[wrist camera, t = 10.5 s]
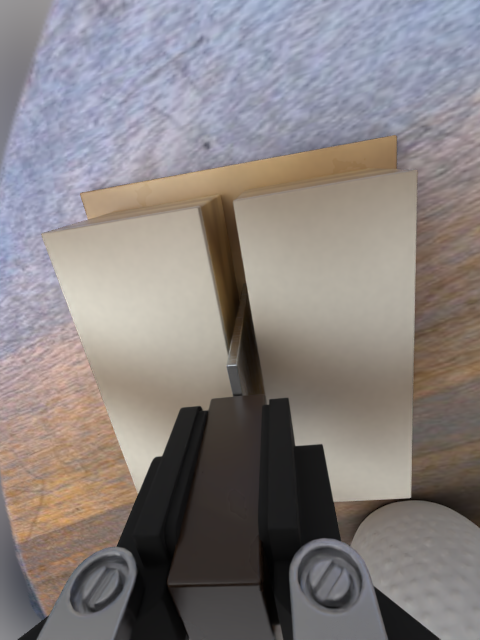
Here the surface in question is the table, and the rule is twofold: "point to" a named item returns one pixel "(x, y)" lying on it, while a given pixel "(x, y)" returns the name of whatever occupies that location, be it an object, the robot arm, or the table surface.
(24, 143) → the table surface
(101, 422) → the table surface
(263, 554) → the dark and grey slab
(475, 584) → the mug
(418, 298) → the table surface
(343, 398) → the slotted holder block
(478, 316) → the table surface
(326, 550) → the robot arm
